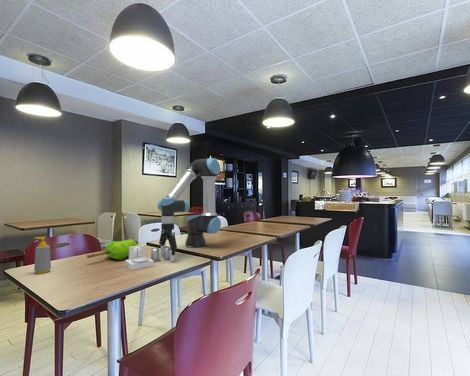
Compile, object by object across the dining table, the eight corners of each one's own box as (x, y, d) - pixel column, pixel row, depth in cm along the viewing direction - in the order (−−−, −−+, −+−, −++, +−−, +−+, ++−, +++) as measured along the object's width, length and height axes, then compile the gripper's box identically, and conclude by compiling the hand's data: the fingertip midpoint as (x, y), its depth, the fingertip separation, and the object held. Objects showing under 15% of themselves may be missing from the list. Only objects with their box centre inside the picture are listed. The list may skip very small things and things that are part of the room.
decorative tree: (80, 245, 151) (129, 236, 175) (81, 263, 151) (129, 252, 175) (94, 249, 140) (144, 239, 164) (95, 268, 140) (144, 256, 164)
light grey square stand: (146, 261, 151) (146, 244, 151) (154, 266, 142) (154, 247, 142) (124, 265, 143) (125, 247, 144) (131, 270, 134) (131, 251, 135)
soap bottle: (33, 271, 133) (33, 236, 133) (50, 269, 137) (50, 235, 137) (34, 275, 127) (34, 238, 128) (51, 272, 132) (51, 236, 132)
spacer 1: (157, 259, 157) (157, 247, 157) (160, 260, 153) (160, 248, 153) (149, 260, 154) (150, 248, 154) (152, 262, 150) (152, 250, 151)
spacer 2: (169, 257, 160) (169, 246, 160) (173, 259, 156) (173, 247, 156) (162, 259, 157) (162, 247, 157) (165, 260, 153) (165, 248, 153)
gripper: (153, 221, 164) (153, 255, 164) (171, 225, 145) (170, 263, 144) (165, 220, 169) (164, 253, 168) (183, 224, 149) (182, 261, 149)
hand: (167, 258), depth 156 cm, fingers open, 13 cm apart
